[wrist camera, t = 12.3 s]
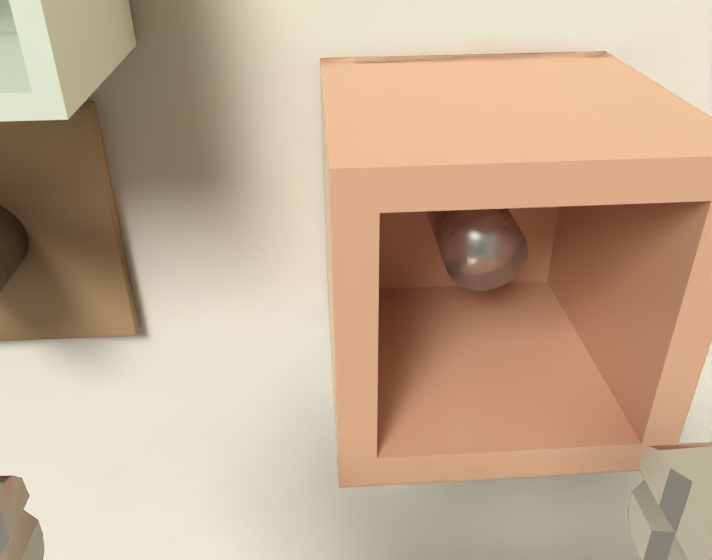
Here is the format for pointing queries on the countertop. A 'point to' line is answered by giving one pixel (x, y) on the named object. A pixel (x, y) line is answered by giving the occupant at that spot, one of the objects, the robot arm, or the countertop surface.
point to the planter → (534, 281)
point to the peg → (479, 246)
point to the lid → (60, 233)
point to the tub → (58, 54)
